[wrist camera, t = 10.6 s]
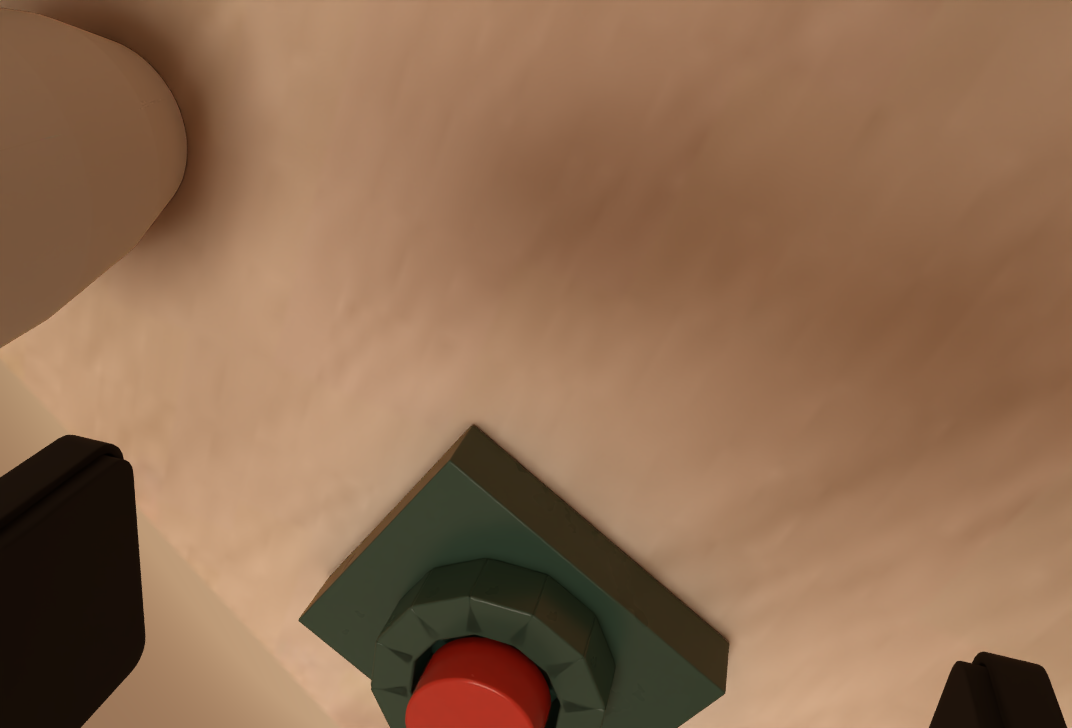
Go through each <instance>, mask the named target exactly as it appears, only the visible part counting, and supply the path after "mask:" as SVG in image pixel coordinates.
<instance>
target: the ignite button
mask: <svg viewBox="0 0 1072 728" xmlns="http://www.w3.org/2000/svg"><path fill="white" fill-rule="evenodd" d="M550 707H551V696H550V691H549V687H548V684H547V681H546V679H545V677H544V675H543V674H542V672H541V671H540V669H539V668H538V667H537V666H536V664H535V663H534V662H533V661H532V660H531V659H529V658H528V657H527V656H526V655H525V654H523V653H522V652H521V651H519V650H518V649H516V648H514V647H513V646H511V645H508V644H506V643H502V642H499V641H496V640H492V639H489V638H485V637H464V638H460V639H456V640H453V641H451V642H449V643H447V644H445V645H443V646H442V647H441V648H439V649H438V650H437V651H436V652H435V653H434V654H433V655H432V657H431V658H430V660H429V662H428V664H427V666H426V668H425V670H424V672H423V674H422V676H421V678H420V680H419V682H418V684H417V686H416V688H415V690H414V692H413V694H412V696H411V698H410V700H409V702H408V705H407V708H406V713H405V723H406V728H545V725H546V722H547V719H548V715H549V712H550Z"/></svg>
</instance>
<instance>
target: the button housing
mask: <svg viewBox="0 0 1072 728" xmlns="http://www.w3.org/2000/svg"><path fill="white" fill-rule="evenodd" d="M299 622H301V623H302V624H303V625H304V626H306V627H307V628H308V629H309V630H311V631H312V632H313V633H314V634H315V635H317V636H318V637H319V638H320V639H322V640H323V641H324V642H325V643H327V644H328V645H329V646H330V647H332V648H333V649H334V650H335V651H336V652H338V653H339V654H340V655H341V656H343V657H344V658H345V659H346V660H348V661H349V662H350V663H351V664H352V665H354V666H355V667H356V668H357V669H359V670H360V671H361V672H362V673H364V674H365V675H366V676H367V677H368V678H370V679H371V690H372V692H373V694H374V696H375V698H376V700H377V702H378V704H379V706H380V708H381V710H382V712H383V714H384V716H385V718H386V720H387V722H388V724H389V726H390V728H406V723H405V713H406V708H407V705H408V702H409V700H410V698H411V696H412V694H413V692H414V690H415V688H416V686H417V684H418V682H419V680H420V678H421V676H422V674H423V672H424V670H425V668H426V666H427V664H428V662H429V660H430V658H431V657H432V655H433V654H434V653H435V652H436V651H437V650H438V649H439V648H441V647H442V646H443V645H445V644H447V643H449V642H451V641H453V640H456V639H460V638H464V637H485V638H489V639H492V640H496V641H499V642H502V643H506V644H508V645H511V646H513V647H514V648H516V649H518V650H519V651H521V652H522V653H523V654H525V655H526V656H527V657H528V658H529V659H531V660H532V661H533V662H534V663H535V664H536V666H537V667H538V668H539V669H540V671H541V672H542V674H543V675H544V677H545V679H546V681H547V684H548V687H549V691H550V696H551V707H550V712H549V715H548V719H547V722H546V725H545V728H678V727H679V726H680V725H682V724H683V723H685V722H686V721H688V720H689V719H690V718H692V717H693V716H695V715H696V714H697V713H699V712H700V711H702V710H703V709H704V708H706V707H707V706H709V705H710V704H711V703H713V702H714V701H716V700H717V699H718V698H720V697H721V696H723V695H724V694H725V691H726V678H727V666H728V653H729V642H728V641H727V640H726V639H724V638H723V637H722V636H721V635H720V634H718V633H717V632H716V631H715V630H714V629H713V628H711V627H710V626H709V625H708V624H707V623H706V622H704V621H703V620H702V619H701V618H700V617H699V616H697V615H696V614H695V613H694V612H693V611H691V610H690V609H689V608H688V607H687V606H686V605H684V604H683V603H682V602H681V601H680V600H679V599H677V598H676V597H675V596H674V595H673V594H672V593H670V592H669V591H668V590H667V589H666V588H664V587H663V586H662V585H661V584H660V583H659V582H657V581H656V580H655V579H654V578H653V577H652V576H650V575H649V574H648V573H647V572H646V571H645V570H643V569H642V568H641V567H640V566H639V565H638V564H636V563H635V562H634V561H633V560H632V559H630V558H629V557H628V556H627V555H626V554H625V553H623V552H622V551H621V550H620V549H619V548H618V547H616V546H615V545H614V544H613V543H612V542H611V541H609V540H608V539H607V538H606V537H605V536H603V535H602V534H601V533H600V532H599V531H598V530H596V529H595V528H594V527H593V526H592V525H591V524H589V523H588V522H587V521H586V520H585V519H584V518H582V517H581V516H580V515H579V514H578V513H576V512H575V511H574V510H573V509H572V508H571V507H569V506H568V505H567V504H566V503H565V502H564V501H562V500H561V499H560V498H559V497H558V496H557V495H555V494H554V493H553V492H552V491H551V490H549V489H548V488H547V487H546V486H545V485H544V484H542V483H541V482H540V481H539V480H538V479H537V478H535V477H534V476H533V475H532V474H531V473H530V472H528V471H527V470H526V469H525V468H524V467H522V466H521V465H520V464H519V463H518V462H517V461H515V460H514V459H513V458H512V457H511V456H510V455H508V454H507V453H506V452H505V451H504V450H503V449H501V448H500V447H499V446H498V445H497V444H495V443H494V442H493V441H492V440H491V439H490V438H488V437H487V436H486V435H485V434H484V433H483V432H481V431H480V430H479V429H478V428H477V427H476V426H474V425H472V426H471V427H470V428H469V429H468V430H467V431H466V432H465V433H464V434H463V435H462V436H461V437H460V438H459V440H458V441H457V442H456V443H455V444H454V445H453V446H452V447H451V448H450V449H449V450H448V451H447V452H446V453H445V454H444V455H443V457H442V458H441V459H440V460H439V461H438V462H437V463H436V464H435V465H434V466H433V467H432V468H431V469H430V470H429V471H428V473H427V474H426V475H425V476H424V477H423V478H422V479H421V480H420V481H419V482H418V483H417V484H416V485H415V486H414V487H413V489H412V490H411V491H410V492H409V493H408V494H407V495H406V496H405V497H404V498H403V499H402V500H401V501H400V502H399V503H398V505H397V506H396V507H395V508H394V509H393V510H392V511H391V512H390V513H389V514H388V515H387V516H386V517H385V518H384V519H383V521H382V522H381V523H380V524H379V525H378V526H377V527H376V528H375V529H374V530H373V531H372V532H371V533H370V534H369V535H368V537H367V538H366V539H365V540H364V541H363V542H362V543H361V544H360V545H359V546H358V547H357V548H356V549H355V550H354V551H353V553H352V554H351V555H350V556H349V557H348V558H347V559H346V560H345V561H344V562H343V563H342V564H341V565H340V566H339V567H338V568H337V570H336V571H335V572H334V573H333V574H332V575H331V576H330V577H329V578H328V579H327V581H326V582H325V584H324V585H323V586H322V588H321V589H320V590H319V592H318V593H317V595H316V596H315V597H314V599H313V600H312V601H311V603H310V604H309V606H308V607H307V608H306V610H305V611H304V612H303V614H302V615H301V617H300V618H299Z"/></svg>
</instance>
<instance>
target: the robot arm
mask: <svg viewBox="0 0 1072 728" xmlns="http://www.w3.org/2000/svg"><path fill="white" fill-rule="evenodd" d="M144 645H145V625H144V612H143V598H142V585H141V571H140V557H139V544H138V530H137V516H136V503H135V489H134V476H133V469H132V466H131V464H130V463H129V462H128V461H126V460H124V459H123V454H122V452H121V451H120V449H119V448H118V447H117V446H115V445H113V444H109V443H105V442H101V441H97V440H93V439H88V438H84V437H80V436H76V435H65V436H63V437H61V438H59V439H57V440H56V441H54V442H53V443H51V444H50V445H48V446H47V447H45V448H44V449H42V450H41V451H39V452H38V453H36V454H35V455H33V456H32V457H30V458H29V459H27V460H26V461H24V462H23V463H21V464H20V465H19V466H17V467H15V468H14V469H12V470H11V471H9V472H8V473H6V474H5V475H3V476H2V477H0V728H81V727H82V726H83V724H84V723H85V722H86V721H87V720H88V719H89V718H90V717H91V716H92V715H93V713H94V712H95V711H96V710H97V709H98V708H99V707H100V706H101V705H102V704H103V702H104V701H105V700H106V699H107V698H108V697H109V696H110V695H111V694H112V692H113V691H114V690H115V689H116V688H117V687H118V686H119V685H120V684H121V683H122V682H123V680H124V679H125V678H126V677H127V676H128V675H129V674H130V673H131V672H132V670H133V669H134V668H135V666H136V665H137V663H138V661H139V660H140V657H141V655H142V652H143V649H144ZM929 728H1067V726H1066V723H1065V721H1064V718H1063V715H1062V712H1061V710H1060V707H1059V704H1058V701H1057V699H1056V696H1055V693H1054V690H1053V688H1052V685H1051V682H1050V679H1049V677H1048V674H1047V673H1046V671H1045V669H1044V668H1043V667H1042V666H1040V665H1038V664H1034V663H1030V662H1026V661H1021V660H1017V659H1013V658H1009V657H1005V656H1000V655H996V654H992V653H988V652H980V653H979V654H978V655H977V656H976V657H975V658H974V660H973V662H972V663H967V662H963V661H957V662H956V663H955V664H954V666H953V668H952V670H951V672H950V674H949V677H948V680H947V682H946V685H945V687H944V690H943V693H942V695H941V698H940V700H939V703H938V706H937V708H936V711H935V713H934V716H933V719H932V721H931V724H930V726H929Z"/></svg>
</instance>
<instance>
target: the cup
mask: <svg viewBox="0 0 1072 728" xmlns="http://www.w3.org/2000/svg"><path fill="white" fill-rule="evenodd" d="M186 161H187V139H186V132H185V127H184V123H183V119H182V116H181V113H180V110H179V108H178V105H177V103H176V101H175V99H174V97H173V95H172V93H171V91H170V90H169V88H168V86H167V85H166V83H165V82H164V81H163V79H162V78H161V77H160V75H159V74H158V73H157V72H156V71H155V69H154V68H153V67H152V66H151V65H150V64H149V63H148V62H146V61H145V60H144V59H143V58H142V57H141V56H139V55H138V54H137V53H135V52H134V51H132V50H131V49H129V48H127V47H125V46H124V45H122V44H119V43H117V42H115V41H112V40H109V39H107V38H104V37H101V36H99V35H96V34H93V33H90V32H88V31H85V30H82V29H80V28H77V27H74V26H72V25H69V24H66V23H63V22H61V21H58V20H55V19H53V18H50V17H47V16H44V15H40V14H36V13H31V12H25V11H19V10H12V9H6V8H0V348H1V347H3V346H5V345H6V344H8V343H9V342H11V341H13V340H14V339H16V338H18V337H19V336H21V335H23V334H24V333H26V332H28V331H29V330H31V329H32V328H34V327H36V326H37V325H39V324H41V323H42V322H44V321H46V320H47V319H48V318H50V317H51V316H52V315H54V314H55V313H56V312H57V311H58V310H60V309H61V308H62V307H63V306H64V305H66V304H67V303H68V302H69V301H71V300H72V299H73V298H74V297H75V296H77V295H78V294H79V293H80V292H81V291H83V290H84V289H85V288H86V287H87V286H89V285H90V284H91V283H92V282H94V281H95V280H96V279H97V278H98V277H100V276H101V275H102V274H103V273H104V272H106V271H107V270H108V269H109V268H110V267H112V266H113V265H114V264H115V263H116V262H118V261H119V260H120V259H121V258H123V257H124V256H125V255H126V254H127V253H129V252H130V251H131V250H132V249H133V248H134V247H135V246H136V245H137V243H138V242H139V241H140V240H141V238H142V237H143V236H144V234H145V233H146V232H147V230H148V229H149V228H150V226H151V225H152V224H153V222H154V221H155V220H156V218H157V217H158V216H159V214H160V213H161V212H162V210H163V209H164V208H165V206H166V205H167V204H168V203H169V201H170V200H171V199H172V197H173V196H174V194H175V193H176V191H177V190H178V188H179V186H180V184H181V181H182V178H183V175H184V172H185V167H186Z"/></svg>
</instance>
